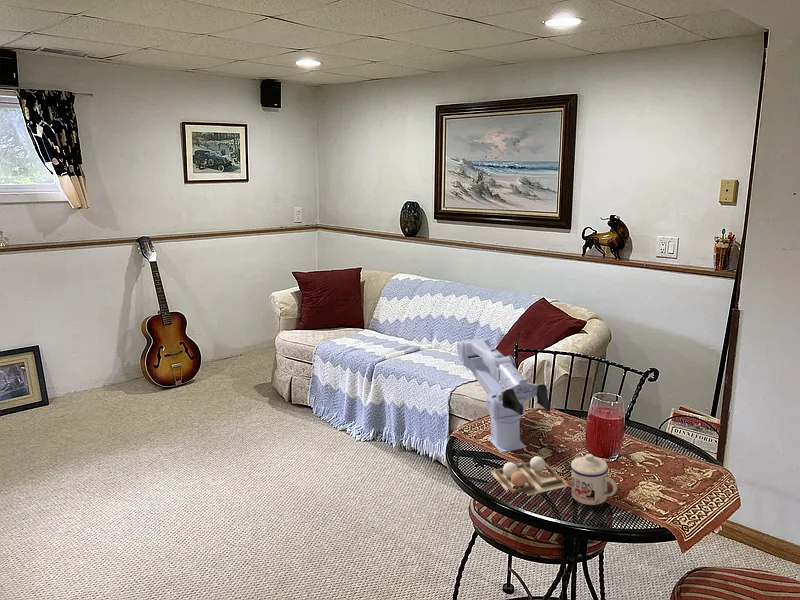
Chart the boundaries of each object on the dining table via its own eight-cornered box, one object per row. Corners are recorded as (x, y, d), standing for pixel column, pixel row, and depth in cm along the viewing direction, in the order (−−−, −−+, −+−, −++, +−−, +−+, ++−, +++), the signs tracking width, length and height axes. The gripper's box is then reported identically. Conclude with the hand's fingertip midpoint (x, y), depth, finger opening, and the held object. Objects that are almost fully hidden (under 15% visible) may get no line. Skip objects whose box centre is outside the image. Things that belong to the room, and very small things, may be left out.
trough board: (489, 472, 184) (489, 467, 183) (542, 460, 188) (542, 455, 187) (513, 500, 170) (513, 495, 169) (569, 487, 174) (569, 482, 173)
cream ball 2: (527, 468, 183) (527, 455, 182) (540, 465, 184) (540, 452, 183) (534, 475, 180) (534, 462, 179) (547, 472, 181) (547, 459, 180)
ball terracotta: (508, 483, 177) (508, 470, 176) (522, 480, 178) (522, 467, 177) (515, 491, 173) (514, 477, 172) (529, 488, 174) (528, 474, 173)
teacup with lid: (563, 497, 169) (563, 456, 166) (583, 482, 175) (583, 442, 172) (606, 515, 161) (606, 472, 158) (625, 499, 167) (626, 457, 164)
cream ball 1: (500, 474, 181) (500, 461, 180) (514, 471, 182) (513, 458, 181) (507, 481, 178) (506, 468, 177) (520, 478, 179) (520, 465, 178)
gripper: (491, 373, 182) (510, 400, 170) (540, 367, 185) (562, 393, 173) (489, 395, 185) (508, 423, 173) (537, 389, 188) (559, 416, 176)
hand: (535, 409), depth 173 cm, fingers open, 7 cm apart
